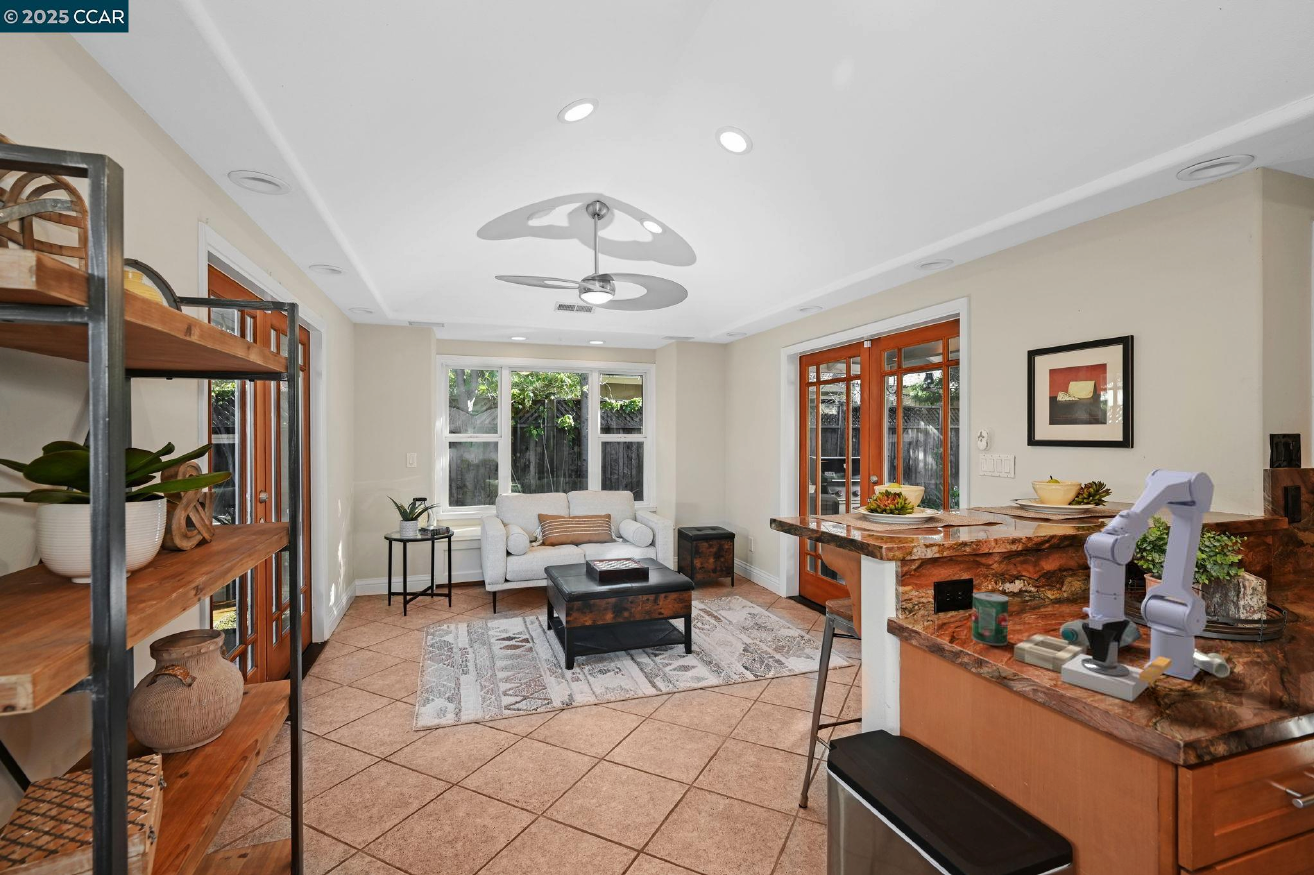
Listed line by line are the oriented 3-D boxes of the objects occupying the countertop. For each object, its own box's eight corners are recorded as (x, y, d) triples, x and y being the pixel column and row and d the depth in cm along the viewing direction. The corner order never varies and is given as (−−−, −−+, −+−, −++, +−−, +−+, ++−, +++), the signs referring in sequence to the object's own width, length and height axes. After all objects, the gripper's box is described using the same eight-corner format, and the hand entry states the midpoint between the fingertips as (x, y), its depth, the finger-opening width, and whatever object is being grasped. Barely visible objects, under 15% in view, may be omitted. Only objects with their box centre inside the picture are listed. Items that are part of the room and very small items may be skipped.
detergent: (1093, 631, 158) (1033, 638, 147) (1097, 605, 158) (1038, 609, 147) (1151, 653, 146) (1091, 661, 136) (1156, 624, 146) (1097, 630, 135)
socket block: (1080, 667, 135) (1080, 653, 134) (1148, 685, 125) (1148, 671, 125) (1061, 680, 127) (1061, 666, 127) (1131, 701, 118) (1132, 686, 118)
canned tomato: (1012, 646, 147) (1013, 601, 146) (977, 643, 148) (978, 599, 148) (1001, 635, 154) (1002, 592, 154) (967, 633, 156) (968, 590, 156)
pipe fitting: (1213, 666, 138) (1182, 663, 138) (1215, 649, 138) (1184, 646, 138) (1245, 681, 130) (1212, 677, 130) (1247, 663, 130) (1214, 659, 130)
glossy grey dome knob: (1088, 672, 132) (1089, 631, 132) (1133, 684, 126) (1134, 641, 125) (1075, 681, 127) (1076, 638, 127) (1122, 695, 120) (1123, 650, 120)
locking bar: (1158, 661, 128) (1159, 656, 128) (1171, 664, 126) (1171, 659, 126) (1139, 679, 118) (1139, 673, 118) (1152, 683, 117) (1152, 677, 117)
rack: (1037, 645, 148) (1037, 633, 147) (1085, 658, 140) (1085, 645, 140) (1013, 659, 139) (1014, 646, 139) (1064, 673, 131) (1064, 659, 131)
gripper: (1095, 582, 133) (1093, 643, 134) (1072, 592, 124) (1070, 658, 125) (1135, 589, 128) (1133, 653, 128) (1114, 600, 119) (1112, 669, 119)
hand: (1105, 656), depth 126 cm, fingers open, 7 cm apart
